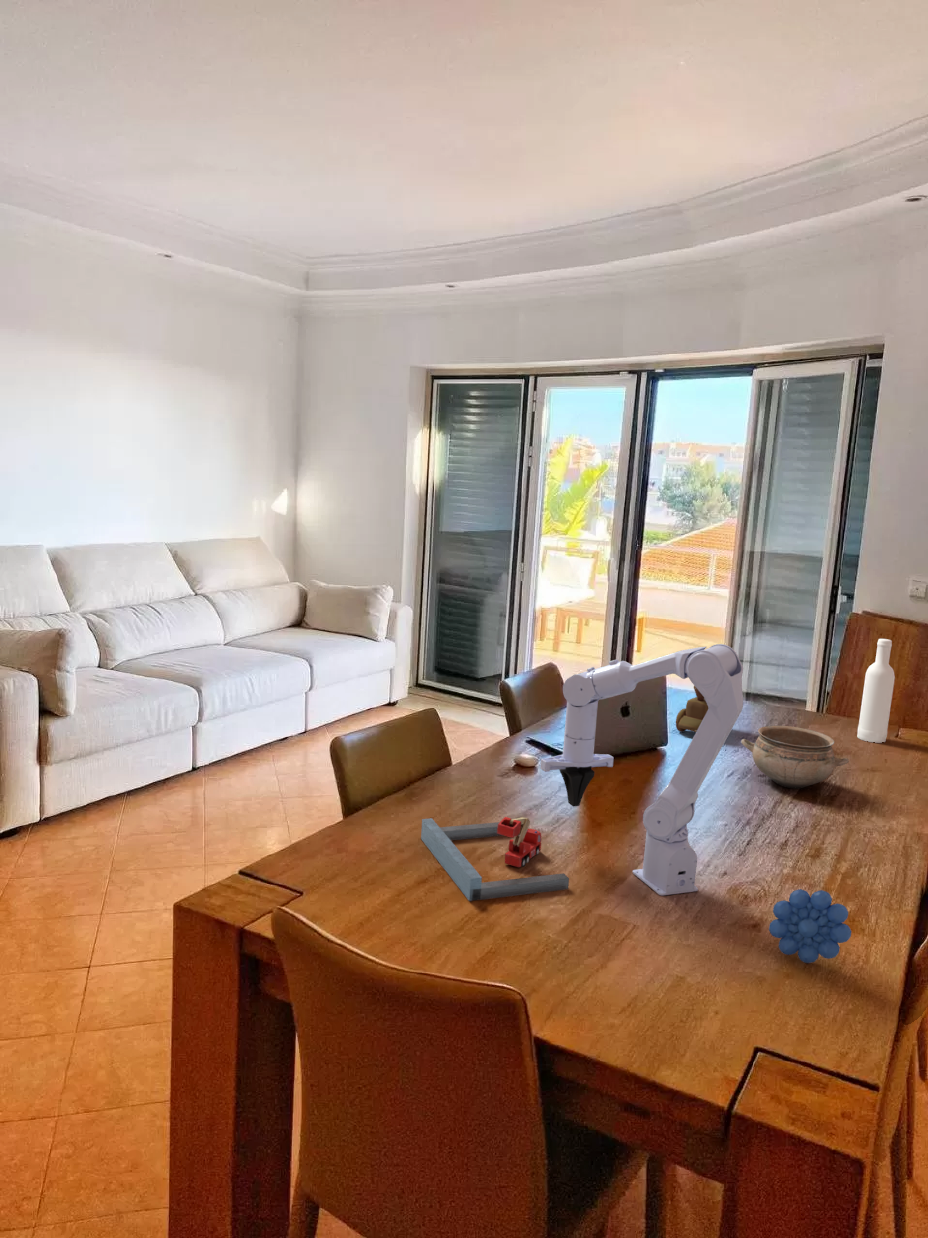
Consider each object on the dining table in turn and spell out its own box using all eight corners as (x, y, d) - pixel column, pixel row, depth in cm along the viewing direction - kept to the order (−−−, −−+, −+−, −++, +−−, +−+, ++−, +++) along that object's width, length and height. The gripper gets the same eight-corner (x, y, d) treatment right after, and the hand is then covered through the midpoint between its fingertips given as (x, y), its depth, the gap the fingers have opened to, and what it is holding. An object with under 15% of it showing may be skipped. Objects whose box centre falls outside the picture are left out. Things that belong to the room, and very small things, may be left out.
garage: (568, 889, 156) (570, 867, 155) (469, 901, 149) (470, 878, 148) (508, 830, 180) (510, 811, 179) (421, 838, 173) (422, 819, 172)
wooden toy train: (702, 721, 272) (707, 668, 270) (737, 730, 265) (744, 675, 262) (670, 733, 257) (676, 677, 255) (707, 743, 250) (714, 685, 247)
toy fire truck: (542, 851, 171) (546, 803, 169) (510, 877, 159) (514, 826, 157) (526, 847, 172) (530, 799, 171) (493, 872, 161) (497, 821, 159)
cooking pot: (848, 784, 222) (854, 736, 220) (840, 807, 205) (847, 755, 204) (745, 763, 233) (750, 718, 231) (729, 783, 217) (735, 734, 215)
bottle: (887, 739, 266) (901, 640, 261) (884, 745, 259) (898, 643, 254) (858, 733, 270) (872, 636, 265) (854, 739, 263) (868, 639, 258)
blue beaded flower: (851, 963, 137) (861, 890, 135) (842, 983, 131) (852, 906, 129) (773, 938, 143) (782, 867, 141) (761, 955, 138) (771, 882, 136)
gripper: (602, 727, 174) (596, 794, 177) (535, 731, 169) (530, 799, 171) (621, 738, 168) (615, 807, 170) (552, 742, 162) (546, 813, 165)
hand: (573, 804), depth 170 cm, fingers closed
